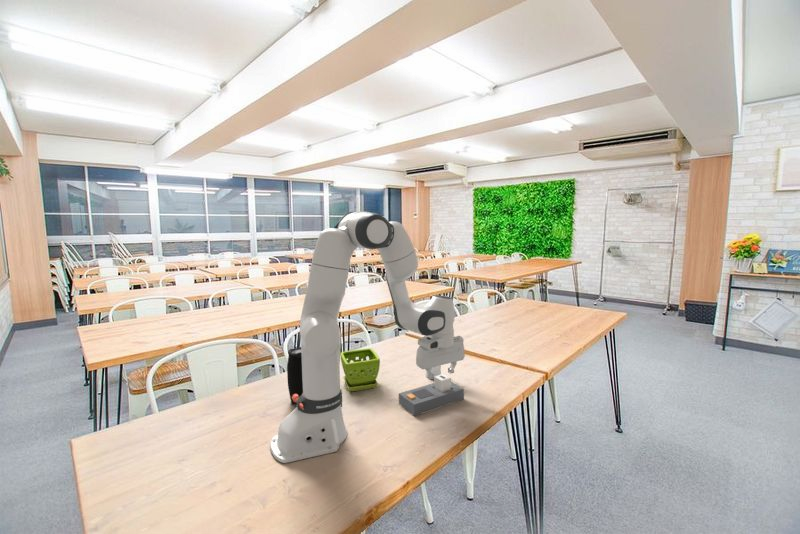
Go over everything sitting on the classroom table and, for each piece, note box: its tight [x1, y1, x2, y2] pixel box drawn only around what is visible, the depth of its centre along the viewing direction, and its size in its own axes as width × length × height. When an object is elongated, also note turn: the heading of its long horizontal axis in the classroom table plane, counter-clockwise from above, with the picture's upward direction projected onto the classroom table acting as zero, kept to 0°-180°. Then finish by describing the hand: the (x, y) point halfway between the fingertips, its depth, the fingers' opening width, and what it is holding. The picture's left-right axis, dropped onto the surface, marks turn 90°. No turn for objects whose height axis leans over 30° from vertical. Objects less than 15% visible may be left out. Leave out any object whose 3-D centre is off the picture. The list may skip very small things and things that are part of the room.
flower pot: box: [340, 347, 381, 392], centre depth 146 cm, size 14×14×13 cm
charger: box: [433, 373, 452, 393], centre depth 134 cm, size 4×4×7 cm
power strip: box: [398, 381, 465, 417], centre depth 132 cm, size 22×10×5 cm, turn 121°
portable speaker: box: [286, 346, 303, 406], centre depth 133 cm, size 9×9×20 cm
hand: (440, 375), depth 133 cm, fingers open, 8 cm apart
